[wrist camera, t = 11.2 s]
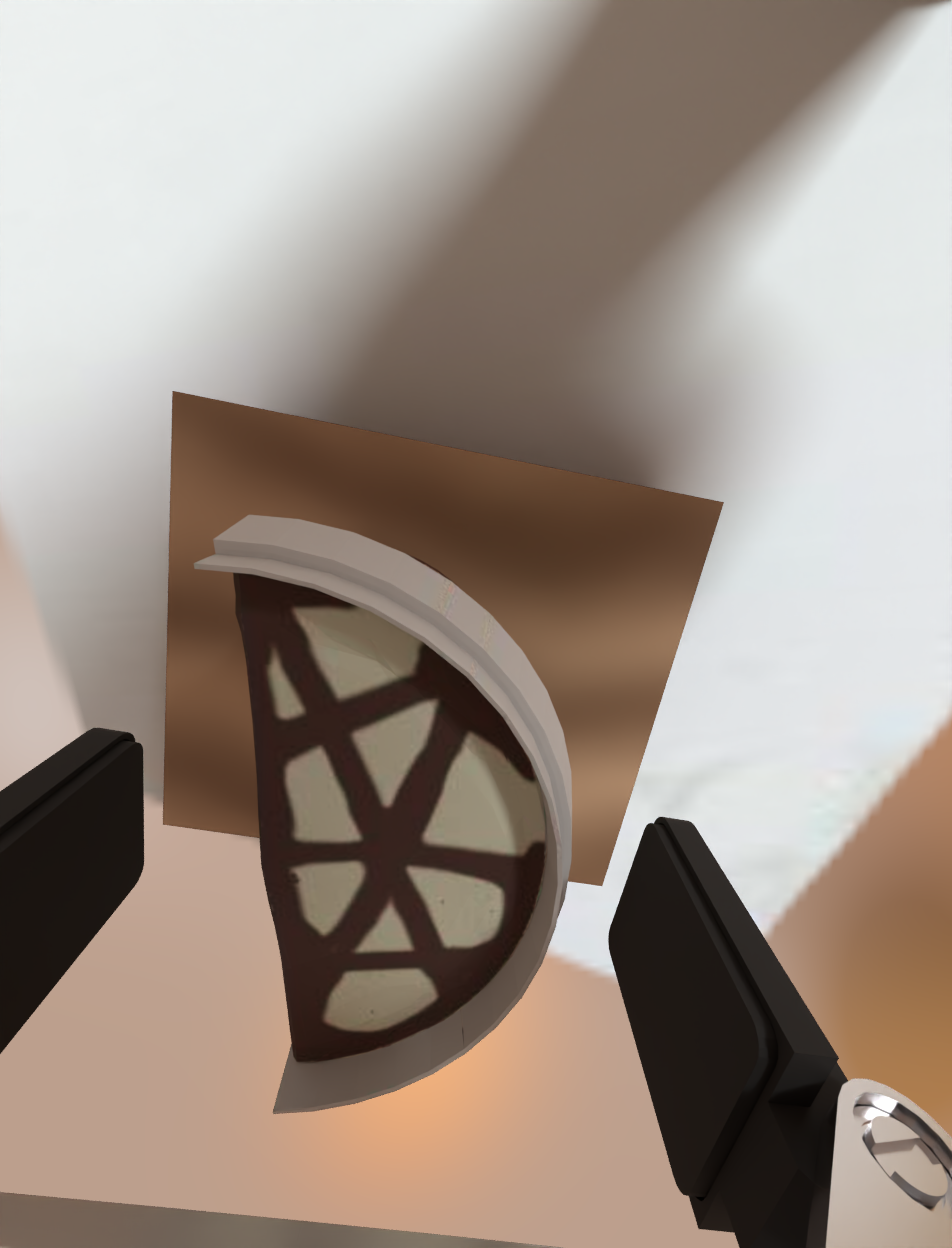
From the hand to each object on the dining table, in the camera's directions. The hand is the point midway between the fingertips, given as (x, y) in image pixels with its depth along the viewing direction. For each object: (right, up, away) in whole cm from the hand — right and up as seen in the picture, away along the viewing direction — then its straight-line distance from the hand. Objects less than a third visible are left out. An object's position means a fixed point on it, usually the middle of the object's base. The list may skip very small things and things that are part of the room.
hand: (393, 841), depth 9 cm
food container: (0, +2, +9) cm, 10 cm away
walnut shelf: (-1, +4, +15) cm, 15 cm away
